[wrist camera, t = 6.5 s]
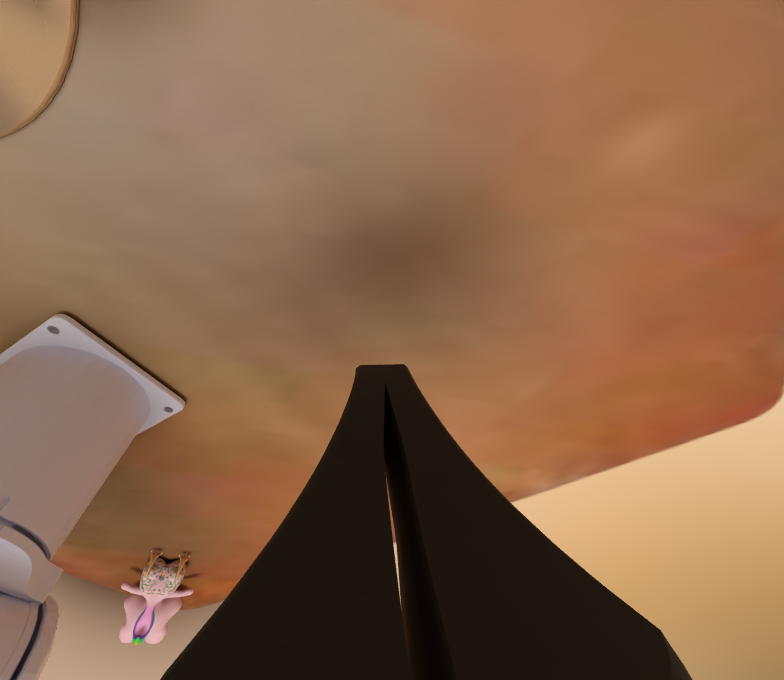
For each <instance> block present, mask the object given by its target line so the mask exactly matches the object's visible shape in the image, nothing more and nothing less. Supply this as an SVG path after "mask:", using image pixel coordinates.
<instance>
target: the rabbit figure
mask: <svg viewBox="0 0 784 680" xmlns="http://www.w3.org/2000/svg"><path fill="white" fill-rule="evenodd" d="M157 550H158V549H157ZM157 550H156V553H155V554H152V551H151V555H150V556H151V559H150V561H149V562H148V563H147V565H146V566H145V568H144V570H143V572H142V575H141V579H140V587H136V586H132V585H131V584H130V583H128V582H125V583H123V584H122V585H121V588H122V589H123V590H126V591H128V592H131V593H133V594H131V595H130V596H129V597H128V598H127V599H126V600H125V603H124V608H125V612H126V617H127V618H126V622H125V623H124V624H123V626H122V627H121V630H120V634H119V636H120V641H122V642H123V643H130V642H133V643H134V645H137V644H139V643H141V642H142V641H143V640H144V639H145V641H146V642H148V643H150V644H156V643H158V642H160V641H161V640H162V639H163V637H164V635H165V634H166V631H167V621H168V620H169V619H170V618H171V617H172V616H173V615H174V614H175V613H176V612H177V611H178V610H179V609H180V607H181V606H182V600H181V597H182V596H187V595H191V594H192V593H193V591H194V590H193V589H192V588H189V589H187V590H176V589H177V588H178V586H179V585H180V583H181V581H182V579H183V577H184V575H185V571H186V565H185V562H186V561H187V560H188V558H189V557H190V556H189V557H188V558H186V557H185V556H186V554H187V552H186V554H185V556H184V557H181V556H180V554H179V557H180V560H176V561H174V562H172V563H166V562H165V561H164V560H163V559H162V558H158V557H159V556H160V555H161V554H162V553H163V552H162V553H161V554H159V555H158V554H157Z"/></svg>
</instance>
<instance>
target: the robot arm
mask: <svg viewBox="0 0 784 680" xmlns="http://www.w3.org/2000/svg"><path fill="white" fill-rule="evenodd" d="M55 327H56V328H58V329H59V330H58V329H56V328H55ZM184 406H185V401H184V400H183V399H182V398H180V397H179V396H178V395H176V394H175V393H173V392H172V391H171V390H169V389H168V388H167V387H165V386H164V385H162V384H161V383H160V382H158V381H157V380H156V379H154V378H153V377H152V376H150V375H149V374H147V373H146V372H145V371H143V370H142V369H141V368H139V367H138V366H137V365H135V364H134V363H132V362H131V361H130V360H128V359H127V358H126V357H124V356H123V355H121V354H120V353H119V352H117V351H116V350H115V349H113V348H112V347H111V346H109V345H108V344H106V343H105V342H104V341H102V340H101V339H100V338H98V337H97V336H96V335H94V334H93V333H91V332H90V331H89V330H87V329H86V328H85V327H83V326H82V325H80V324H79V323H78V322H76V321H75V320H74V319H72V318H71V317H69V316H67V315H64V314H56V315H54V316H53V317H51V318H50V319H48V320H47V321H46V322H44V323H43V324H41V325H40V326H39V327H37V328H36V329H34V330H33V331H32V332H30V333H29V334H27V335H26V336H25V337H23V338H22V339H21V340H19V341H18V342H16V343H15V344H14V345H12V346H11V347H9V348H8V349H7V350H5V351H4V352H2V353H1V354H0V680H38V679H39V677H40V675H41V673H42V671H43V669H44V666H45V664H46V662H47V660H48V657H49V654H50V651H51V649H52V645H53V641H54V637H55V632H56V629H57V623H58V616H59V615H58V606H57V603H56V601H55V600H54V599H53V598H52V597H51V596H49V593H50V591H51V590H52V588H53V587H54V585H55V584H56V582H57V581H58V579H59V577H60V576H61V574H62V573H63V569H62V568H59V567H57V566H55V565H54V564H52V563H51V562H50V561H51V560H52V558H53V557H54V555H55V554H56V552H57V551H58V549H59V548H60V546H61V545H62V543H63V542H64V541H65V539H66V538H67V536H68V535H69V533H70V532H71V530H72V529H73V527H74V526H75V524H76V523H77V521H78V520H79V518H80V517H81V516H82V514H83V513H84V511H85V510H86V508H87V507H88V505H89V504H90V502H91V501H92V499H93V498H94V496H95V495H96V493H97V492H98V490H99V489H100V488H101V486H102V485H103V483H104V482H105V480H106V479H107V477H108V476H109V474H110V473H111V471H112V470H113V468H114V467H115V465H116V464H117V463H118V461H119V460H120V458H121V457H122V455H123V454H124V452H125V451H126V449H127V448H128V446H129V445H130V443H131V442H132V440H133V439H134V437H135V436H136V435H138V434H140V433H141V432H143V431H145V430H147V429H149V428H151V427H152V426H154V425H156V424H158V423H160V422H161V421H163V420H165V419H167V418H169V417H170V416H172V415H174V414H176V413H178V412H179V411H181V410H182V409H183V408H184ZM385 472H386V473H385ZM386 478H387V483H386ZM387 484H388V490H389V497H390V503H391V509H392V516H393V522H394V528H395V536H396V544H397V555H398V568H399V581H400V595H401V604H400V597H399V588H398V580H397V573H396V563H395V555H394V547H393V538H392V529H391V520H390V511H389V502H388V493H387ZM401 611H402V612H401ZM160 680H692V679H691V677H690V675H689V674H688V672H687V670H686V668H685V667H684V665H683V663H682V662H681V661H680V659H679V657H678V656H677V655H676V653H675V651H674V650H673V649H672V647H671V646H670V644H669V643H668V641H667V639H666V638H665V636H664V635H663V633H662V632H661V630H660V629H658V628H657V627H656V626H654V625H653V624H652V623H651V622H649V621H648V620H647V619H645V618H644V617H643V616H642V615H640V614H639V613H638V612H636V611H635V610H634V609H633V608H631V607H630V606H629V605H628V604H626V603H625V602H624V601H622V600H621V599H620V598H619V597H617V596H616V595H615V594H613V593H612V592H611V591H610V590H608V589H607V588H606V587H605V586H603V585H602V584H601V583H600V582H599V581H597V580H596V579H595V578H594V577H592V576H591V575H590V574H589V573H588V572H586V571H585V570H584V569H583V568H582V567H581V566H579V565H578V564H577V563H576V562H574V560H572V559H571V558H570V557H569V556H568V555H567V554H565V553H564V552H563V551H562V550H560V548H558V547H557V546H556V545H555V544H554V543H553V542H552V541H551V540H550V539H548V538H547V537H546V536H545V535H544V534H543V533H542V532H541V531H540V530H539V529H538V528H536V526H535V525H533V524H532V523H531V522H530V521H529V520H528V519H527V518H526V517H525V516H524V515H523V514H522V513H521V512H520V511H518V510H517V509H516V508H515V507H514V506H513V505H512V504H511V503H510V502H509V501H508V500H507V499H506V498H505V497H504V496H503V495H502V494H501V493H500V492H499V491H498V489H497V488H496V487H495V486H494V485H493V484H492V483H491V482H490V481H489V480H488V479H487V478H486V477H485V476H484V475H483V473H482V472H481V471H480V470H479V469H478V468H477V467H476V466H475V464H474V463H473V462H472V461H471V460H470V459H469V457H468V456H467V455H466V454H465V453H464V451H463V450H462V449H461V448H460V446H459V445H458V444H457V443H456V441H455V440H454V439H453V438H452V436H451V435H450V434H449V432H448V431H447V430H446V428H445V427H444V426H443V424H442V423H441V421H440V420H439V419H438V417H437V416H436V414H435V413H434V411H433V410H432V408H431V407H430V406H429V404H428V402H427V401H426V399H425V398H424V396H423V395H422V393H421V391H420V390H419V388H418V386H417V385H416V383H415V381H414V379H413V377H412V376H411V374H410V372H409V370H408V368H407V367H406V366H405V365H404V364H396V365H360V366H359V367H357V368H356V374H355V379H354V383H353V387H352V390H351V393H350V396H349V399H348V402H347V404H346V407H345V409H344V412H343V414H342V417H341V419H340V422H339V424H338V426H337V428H336V430H335V432H334V434H333V436H332V438H331V440H330V442H329V444H328V447H327V449H326V451H325V453H324V454H323V456H322V458H321V460H320V462H319V464H318V466H317V467H316V469H315V471H314V473H313V474H312V476H311V478H310V479H309V481H308V483H307V484H306V486H305V488H304V489H303V491H302V493H301V494H300V496H299V497H298V499H297V500H296V502H295V503H294V505H293V507H292V508H291V510H290V511H289V513H288V514H287V516H286V517H285V519H284V520H283V522H282V523H281V525H280V526H279V528H278V529H277V531H276V532H275V534H274V535H273V536H272V538H271V539H270V541H269V542H268V543H267V545H266V546H265V547H264V549H263V550H262V551H261V553H260V554H259V555H258V557H257V558H256V559H255V561H254V562H253V563H252V565H251V566H250V568H249V569H248V570H247V572H246V573H245V574H244V576H243V577H242V578H241V580H240V581H239V582H238V584H237V585H236V586H235V588H234V589H233V590H232V591H231V593H230V594H229V595H228V597H227V598H226V599H225V600H224V602H223V603H222V604H221V605H220V607H219V608H218V609H217V611H215V613H214V614H213V615H212V616H211V618H210V619H209V620H208V621H207V623H206V624H205V625H204V626H203V627H202V629H201V630H200V631H199V632H198V633H197V635H196V636H195V637H194V638H193V639H192V641H191V642H190V643H189V644H188V645H187V647H186V648H185V649H184V651H183V652H182V653H181V654H180V655H179V656H178V658H177V659H176V660H175V661H174V663H173V664H172V665H171V666H170V667H169V668H168V670H167V671H166V672H165V674H164V675H163V676H162V678H161V679H160Z"/></svg>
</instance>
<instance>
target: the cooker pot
mask: <svg viewBox="0 0 784 680" xmlns="http://www.w3.org/2000/svg"><path fill="white" fill-rule="evenodd" d="M78 13H79V0H0V137H3V136H5V135H8V134H11V133H14V132H15V131H17V130H19V129H20V128H22V127H23V126H25V125H27V124H28V123H30V122H31V121H33V120H34V119H35V118H36V117H37V116H38V115H39V114H40V113H41V112H42V111H43V110H44V109H45V108H46V107H47V106H48V105H49V104H50V102H51V101H52V99H53V98H54V96H55V95H56V93H57V92H58V90H59V89H60V87H61V86H62V83H63V81H64V78H65V76H66V73H67V71H68V68H69V66H70V63H71V61H72V56H73V51H74V46H75V41H76V36H77V31H78Z"/></svg>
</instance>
